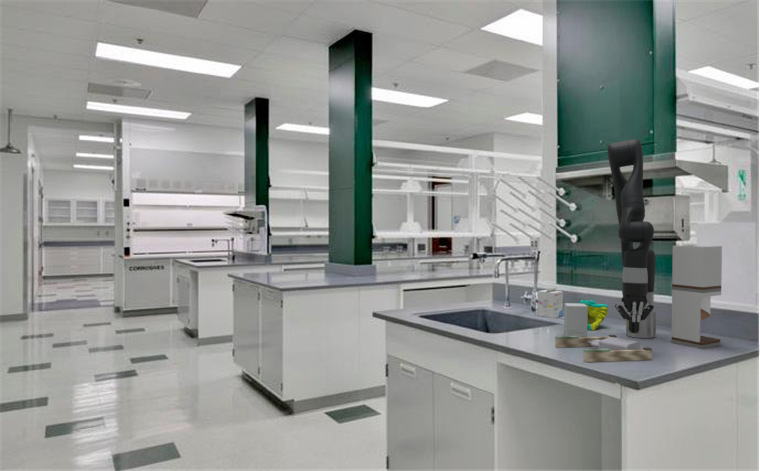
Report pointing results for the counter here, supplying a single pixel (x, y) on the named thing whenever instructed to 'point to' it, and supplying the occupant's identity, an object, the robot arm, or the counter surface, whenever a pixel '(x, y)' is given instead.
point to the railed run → (602, 350)
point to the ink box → (550, 303)
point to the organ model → (595, 313)
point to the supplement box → (575, 319)
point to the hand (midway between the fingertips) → (633, 332)
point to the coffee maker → (694, 292)
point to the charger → (615, 344)
